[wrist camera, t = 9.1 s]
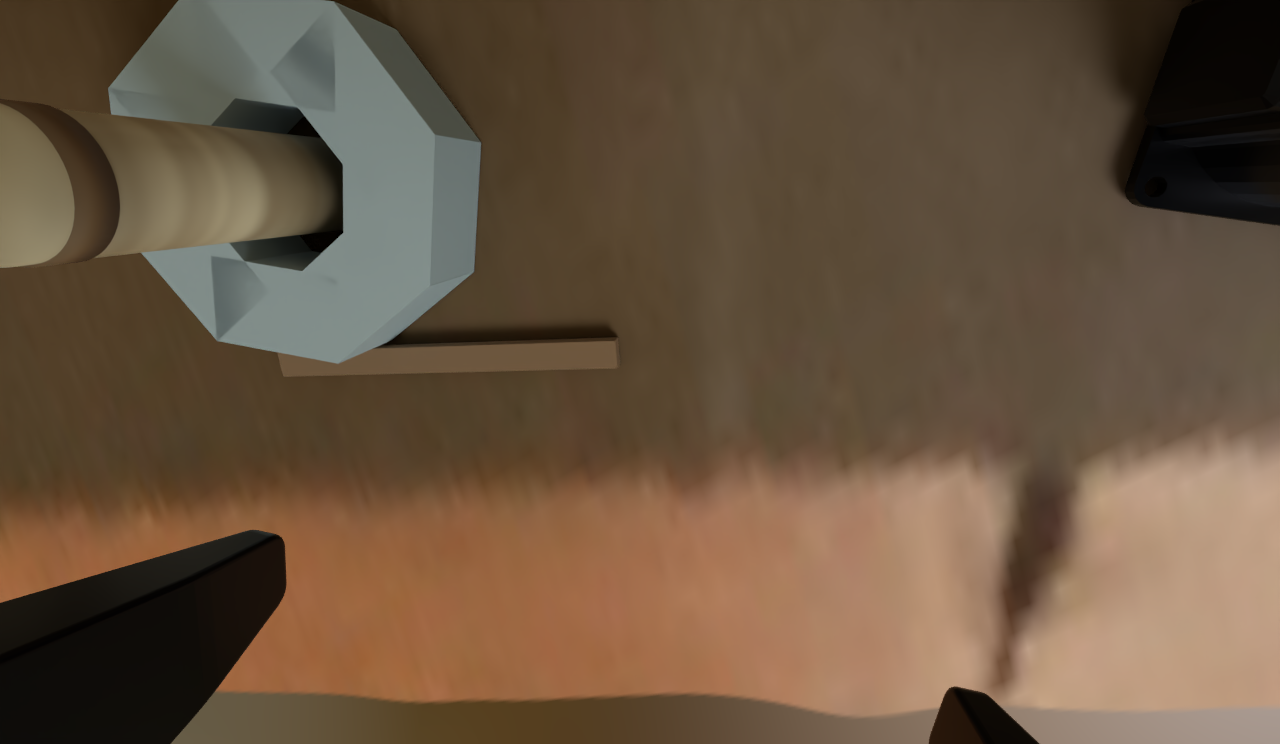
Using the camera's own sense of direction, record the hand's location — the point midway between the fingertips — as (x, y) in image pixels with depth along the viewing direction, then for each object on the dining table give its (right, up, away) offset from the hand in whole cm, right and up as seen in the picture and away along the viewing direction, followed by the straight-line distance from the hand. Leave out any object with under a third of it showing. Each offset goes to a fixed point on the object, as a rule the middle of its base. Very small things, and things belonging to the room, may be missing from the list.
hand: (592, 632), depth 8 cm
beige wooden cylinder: (-9, +9, +12) cm, 18 cm away
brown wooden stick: (-6, +4, +13) cm, 15 cm away
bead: (-9, +9, +12) cm, 18 cm away
